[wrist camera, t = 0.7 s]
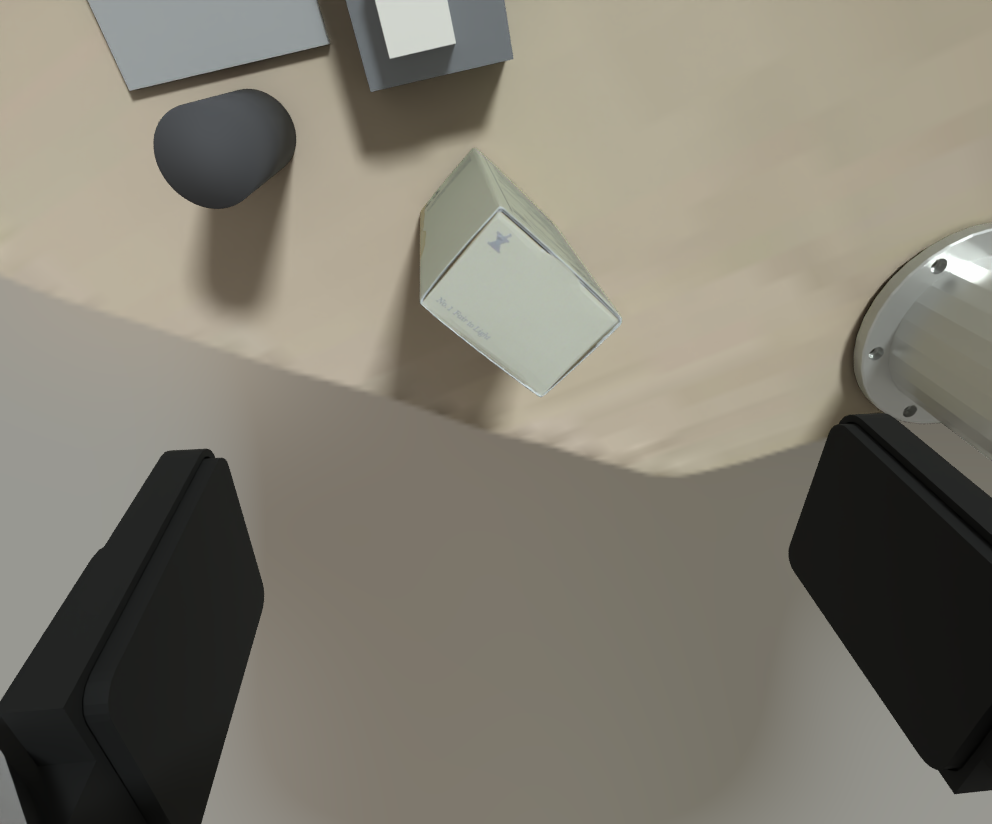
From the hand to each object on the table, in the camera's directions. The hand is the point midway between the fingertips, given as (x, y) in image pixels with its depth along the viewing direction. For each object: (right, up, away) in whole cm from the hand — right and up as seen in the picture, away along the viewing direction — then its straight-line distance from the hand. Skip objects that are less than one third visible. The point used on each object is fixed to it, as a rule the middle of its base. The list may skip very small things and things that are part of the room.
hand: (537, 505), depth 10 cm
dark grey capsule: (-12, +14, +18) cm, 26 cm away
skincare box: (-1, +11, +22) cm, 24 cm away
